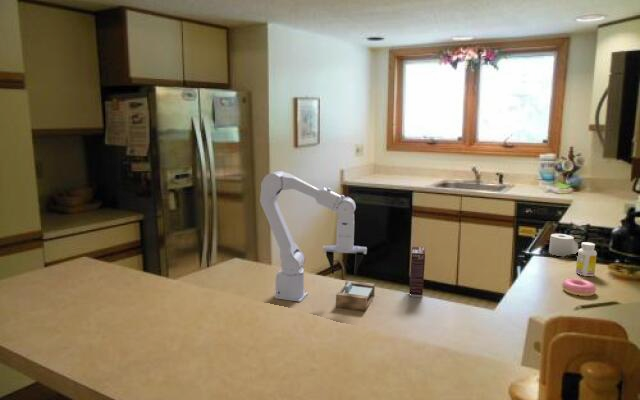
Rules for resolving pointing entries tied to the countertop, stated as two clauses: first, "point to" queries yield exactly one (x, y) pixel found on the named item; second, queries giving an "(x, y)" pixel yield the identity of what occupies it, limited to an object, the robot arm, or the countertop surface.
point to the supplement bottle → (586, 259)
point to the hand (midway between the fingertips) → (344, 273)
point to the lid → (357, 289)
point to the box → (354, 298)
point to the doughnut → (579, 287)
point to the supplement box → (417, 272)
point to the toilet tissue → (562, 245)
